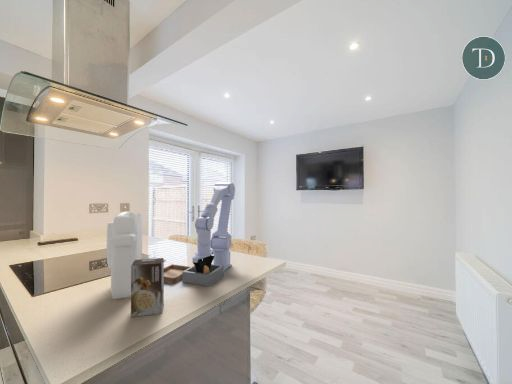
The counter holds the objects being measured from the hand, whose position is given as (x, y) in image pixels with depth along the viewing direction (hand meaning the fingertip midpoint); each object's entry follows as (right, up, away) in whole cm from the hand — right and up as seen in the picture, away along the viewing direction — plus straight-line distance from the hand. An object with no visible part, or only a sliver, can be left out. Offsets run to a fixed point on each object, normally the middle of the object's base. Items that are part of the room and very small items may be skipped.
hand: (203, 274), depth 101 cm
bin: (0, -2, 0) cm, 2 cm away
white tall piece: (-29, -2, -11) cm, 31 cm away
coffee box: (-12, -2, -28) cm, 30 cm away
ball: (0, +1, 0) cm, 1 cm away
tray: (-15, -2, +3) cm, 15 cm away
